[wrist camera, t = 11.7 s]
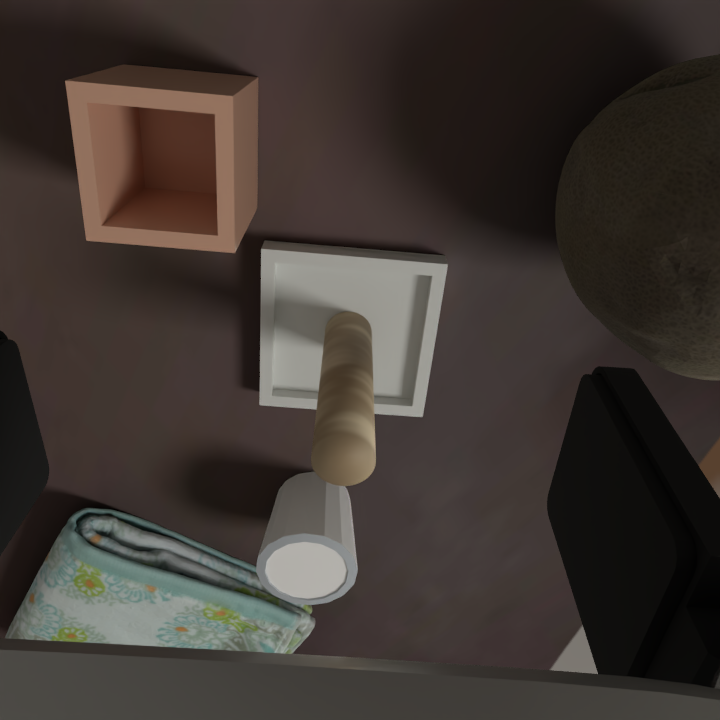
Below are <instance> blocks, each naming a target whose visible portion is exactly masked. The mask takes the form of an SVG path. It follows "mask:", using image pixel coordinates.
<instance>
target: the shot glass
mask: <svg viewBox="0 0 720 720" xmlns="http://www.w3.org/2000/svg"><path fill="white" fill-rule="evenodd" d="M256 572H257V575H258V577H259V580H260V582H261V584H262V585H263V586H264V587H265V588H266V589H267V590H268V591H269V592H270V593H271V594H273V595H274V596H276V597H278V598H281V599H283V600H285V601H288V602H290V603H297V604H304V605H314V604H321V603H328V602H330V601H332V600H334V599H337V598H339V597H341V596H343V595H344V594H345V593H346V592H347V591H348V590H349V589H350V588H351V587H352V586H353V585H354V583H355V579H356V575H357V572H358V568H357V558H356V549H355V540H354V530H353V521H352V511H351V502H350V497H349V494H348V490H347V489H346V488H345V486H338V485H333V484H330V483H328V482H326V481H324V480H322V479H321V478H320V477H319V476H318V475H317V474H316V473H315V472H308V473H301V474H297V475H295V476H293V477H291V478H290V479H288V480H286V481H285V482H284V484H283V485H282V486H281V488H280V489H279V491H278V494H277V497H276V500H275V504H274V507H273V510H272V513H271V517H270V520H269V523H268V526H267V529H266V533H265V536H264V539H263V542H262V546H261V549H260V552H259V555H258V560H257V567H256Z"/></svg>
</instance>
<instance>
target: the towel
mask: <svg viewBox="0 0 720 720" xmlns="http://www.w3.org/2000/svg"><path fill="white" fill-rule="evenodd" d="M311 613H312V607H311V605H304V604H297V603H290V602H288V601H285V600H283V599H281V598H278V597H276V596H274V595H273V594H271V593H270V592H269V591H268V590H267V589H266V588H265V587H264V586H263V585H262V584H261V582H260V580H259V577H258V575H257V572H256V566H254V565H251V564H249V563H247V562H244V561H242V560H239V559H237V558H234V557H231V556H229V555H227V554H225V553H222V552H220V551H218V550H215V549H213V548H211V547H208V546H206V545H204V544H202V543H199V542H197V541H195V540H192V539H190V538H188V537H186V536H183V535H181V534H179V533H176V532H174V531H171V530H168V529H166V528H163V527H161V526H159V525H157V524H154V523H152V522H149V521H147V520H144V519H141V518H139V517H136V516H133V515H130V514H127V513H123V512H119V511H115V510H111V509H99V508H84V509H81V510H80V511H78V512H76V513H74V514H73V515H72V516H71V517H70V518H69V520H68V522H67V524H66V525H65V526H64V528H63V529H62V530H61V533H60V534H59V536H58V537H57V539H56V541H55V542H54V544H53V546H52V548H51V550H50V552H49V553H48V555H47V557H46V559H45V561H44V563H43V565H42V566H41V568H40V570H39V572H38V573H37V575H36V577H35V579H34V581H33V583H32V585H31V587H30V589H29V591H28V592H27V594H26V597H25V599H24V600H23V602H22V604H21V606H20V608H19V609H18V612H17V614H16V615H15V617H14V619H13V621H12V623H11V625H10V627H9V629H8V632H7V634H6V637H5V638H9V639H28V640H48V641H67V642H87V643H106V644H124V645H142V646H160V647H178V648H196V649H214V650H232V651H249V652H267V653H284V654H292V653H293V652H294V651H295V650H296V648H297V647H298V646H299V645H301V643H302V642H303V641H304V640H305V639H306V638H307V637H308V636H309V634H310V633H311V631H312V630H313V628H314V627H315V618H313V617H311V616H310V614H311Z"/></svg>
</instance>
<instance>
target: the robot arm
mask: <svg viewBox="0 0 720 720" xmlns="http://www.w3.org/2000/svg"><path fill="white" fill-rule="evenodd" d="M48 476H49V464H48V460H47V456H46V452H45V449H44V445H43V441H42V437H41V433H40V429H39V425H38V422H37V418H36V414H35V410H34V406H33V402H32V399H31V395H30V391H29V387H28V383H27V379H26V376H25V372H24V368H23V364H22V360H21V356H20V353H19V349H18V346H17V344H16V343H15V342H14V341H13V340H8V338H7V336H6V335H5V334H4V333H3V332H2V331H0V555H1V554H2V552H3V551H4V549H5V548H6V546H7V544H8V543H9V541H10V540H11V538H12V537H13V535H14V534H15V532H16V531H17V529H18V528H19V526H20V524H21V523H22V521H23V520H24V518H25V517H26V515H27V514H28V512H29V511H30V509H31V508H32V506H33V505H34V503H35V501H36V500H37V498H38V497H39V495H40V494H41V492H42V491H43V489H44V488H45V486H46V484H47V480H48ZM547 509H548V516H549V519H550V522H551V526H552V529H553V532H554V535H555V538H556V541H557V545H558V548H559V551H560V554H561V557H562V560H563V564H564V567H565V570H566V573H567V576H568V579H569V583H570V586H571V589H572V592H573V595H574V599H575V602H576V605H577V608H578V611H579V614H580V618H581V621H582V624H583V627H584V630H585V633H586V637H587V640H588V643H589V646H590V649H591V652H592V655H593V659H594V662H595V665H596V668H597V671H598V674H589V673H577V672H564V671H552V670H539V669H526V668H514V667H497V666H481V665H465V664H449V663H433V662H417V661H401V660H384V659H368V658H352V657H336V656H319V655H302V654H284V653H267V652H249V651H232V650H214V649H196V648H178V647H160V646H142V645H124V644H106V643H87V642H67V641H48V640H28V639H9V638H0V720H720V498H719V497H718V495H717V494H716V492H715V491H714V489H713V488H712V486H711V485H710V483H709V482H708V480H707V478H706V477H705V475H704V474H703V472H702V471H701V469H700V468H699V466H698V465H697V463H696V461H695V460H694V458H693V457H692V456H691V454H690V453H689V451H688V450H687V448H686V446H685V445H684V443H683V442H682V440H681V439H680V437H679V436H678V434H677V433H676V431H675V430H674V428H673V427H672V425H671V423H670V422H669V420H668V419H667V417H666V416H665V414H664V413H663V411H662V410H661V408H660V407H659V405H658V404H657V402H656V401H655V399H654V397H653V396H652V394H651V393H650V391H649V390H648V388H647V387H646V385H645V384H644V382H643V381H642V379H641V378H640V376H639V374H638V373H637V372H636V371H635V370H634V369H631V368H616V367H600V366H598V367H597V368H595V369H594V371H593V372H592V375H589V374H585V375H583V377H582V378H581V381H580V384H579V387H578V391H577V394H576V398H575V401H574V405H573V408H572V412H571V415H570V419H569V423H568V426H567V430H566V433H565V437H564V440H563V444H562V447H561V451H560V454H559V458H558V461H557V465H556V469H555V472H554V476H553V479H552V483H551V486H550V490H549V494H548V500H547Z"/></svg>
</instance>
